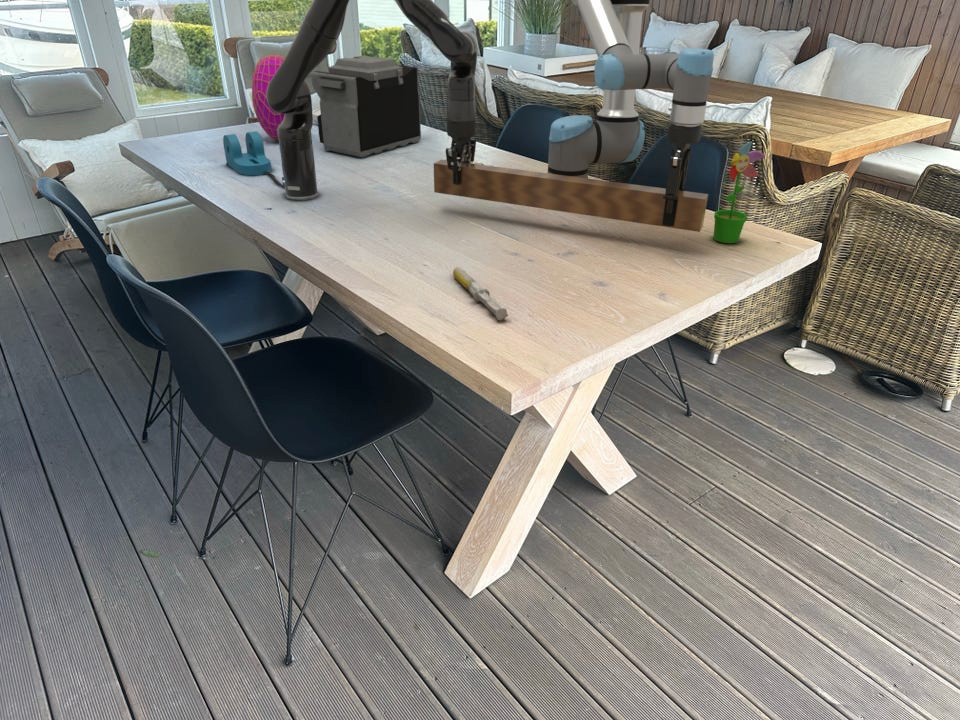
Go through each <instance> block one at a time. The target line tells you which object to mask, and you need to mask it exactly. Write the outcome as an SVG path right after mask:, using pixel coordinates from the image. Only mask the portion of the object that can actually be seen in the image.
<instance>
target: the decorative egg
mask: <svg viewBox="0 0 960 720" xmlns="http://www.w3.org/2000/svg"><path fill="white" fill-rule="evenodd" d="M285 57H286V56H282V55H280V54H268V55H265V56H262V57H261V58H260V59H259V60H258V61H257V62H256V65H255V68H254V69H253V70H254V71H253V73H252V77H251V101H252V107H253V110H254V114H255V116H256V118H257V121H258V123H259V125H260V127H261V128H262V130H263V131H264V133H266V135H267V136H268V137H270V138H271V139H273V140H275V141H279V139H278V131H277V129H278V126H279V125H280V124H281V123H282V121H283V119H284V116H285V114H280V113H277V112H274V111H273V110H272V109H271V108H270V106H269V105H268V102H267V97H266V92H267V87H268V85H269V83H270V81H271V79H272V78H273V76H274V75H275V73H276V72H277V70H278V69H279V67H280V66H281V64H282V62H283V61H284V59H285Z"/></svg>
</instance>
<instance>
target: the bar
mask: <svg viewBox="0 0 960 720" xmlns="http://www.w3.org/2000/svg"><path fill="white" fill-rule="evenodd" d="M451 165H452V162H451ZM487 165H488V164H483V165H479V164H472V163H464V162H463V163H462V166H461V184H460V185H455V184H453V170H449V169H448V165H447V160H446V159H439V160H437V161H436V162H433V192H434V193H436V194H442V195H448V196H457V197H462V198H468V199H469V198H470V199H475V200H483V201H490V202H496V203H502V204H508V205H515V206H516V205H517V206H523V207H528V208H535V209H536V208H537V209H541V210H542V209H543V210H549V211H556V212H562V213H563V212H564V213H568V214H569V213H570V214H576V215H577V214H578V215H582V216H583V215H584V216H590V217H596V218H597V217H598V218H602V219H603V218H604V219H610V220H615V221H622V222H623V221H624V222H629V223H637V224H643V225H648V226H649V225H650V226H656V227H663V228H669V229H675V230H676V229H677V230H683V231H689V232H696V233H701V230H702V228H703V227H704V221H705V215H706V210H707V204H708V199H709V193H703V192H695V191H688V190H686V191H680V190H679V191H678V196H677V197H678V198H677V199H678V203H677V209H676V215H675V221H674V226H666V225H662V221H663V215H664V208H665V201H666V199H663V196H665V192H666V187H665V188H663V187H656V186H649V185H641V184H633V183H625V182H617V181H610V180H604V179H603V180H601V179H595V178H588V179H587V178H580V177H572V176H564V175H557V174H549V173H548V172H541V171H533V170H525V169H518V168H509V167H503V166H494V165H493V166H487Z"/></svg>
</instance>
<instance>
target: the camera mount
mask: <svg viewBox="0 0 960 720" xmlns="http://www.w3.org/2000/svg"><path fill="white" fill-rule="evenodd" d="M222 140H223V141H222V143H223V149H224V150H223V151H224V156H225V161H226V163H228V164H229V165H227V166H228V167H230V168H231V169H232V170H234V171H236V172H237V173H238V174H239V175H244V176H260V175H266V174H265V171H267V172H269V173H271V172H272V164H271V159H270V158H268V157H267V156H266V153H265V145H264V141H263V139H262V136H261V134H260V132H258V131H247V132H246V133H245V146H246V152H243V151H242V150H243V149H242V146H241V142H240V140H239V138H238V135H236V134H235V133H231V134H224V135H223V138H222Z"/></svg>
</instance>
